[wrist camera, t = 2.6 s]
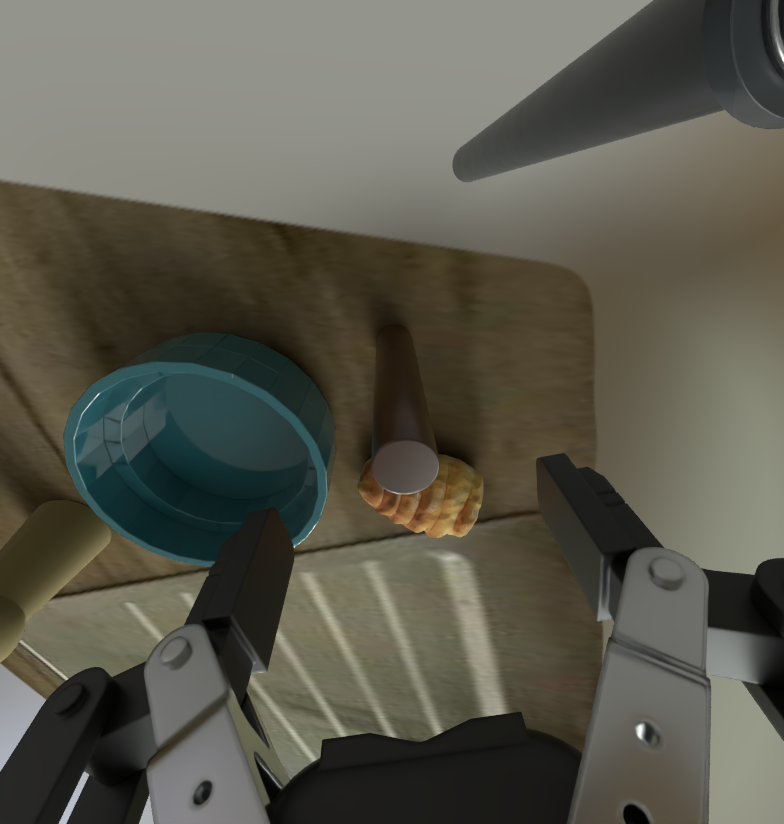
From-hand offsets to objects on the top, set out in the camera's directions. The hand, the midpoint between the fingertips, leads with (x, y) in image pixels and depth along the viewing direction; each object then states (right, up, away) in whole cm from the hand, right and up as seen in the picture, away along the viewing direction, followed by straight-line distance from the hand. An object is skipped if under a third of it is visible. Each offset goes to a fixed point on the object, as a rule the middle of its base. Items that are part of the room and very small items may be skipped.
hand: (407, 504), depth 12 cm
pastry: (+2, -3, +20) cm, 20 cm away
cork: (-28, -7, +21) cm, 35 cm away
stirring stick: (0, +8, +14) cm, 16 cm away
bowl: (-12, +2, +17) cm, 21 cm away
